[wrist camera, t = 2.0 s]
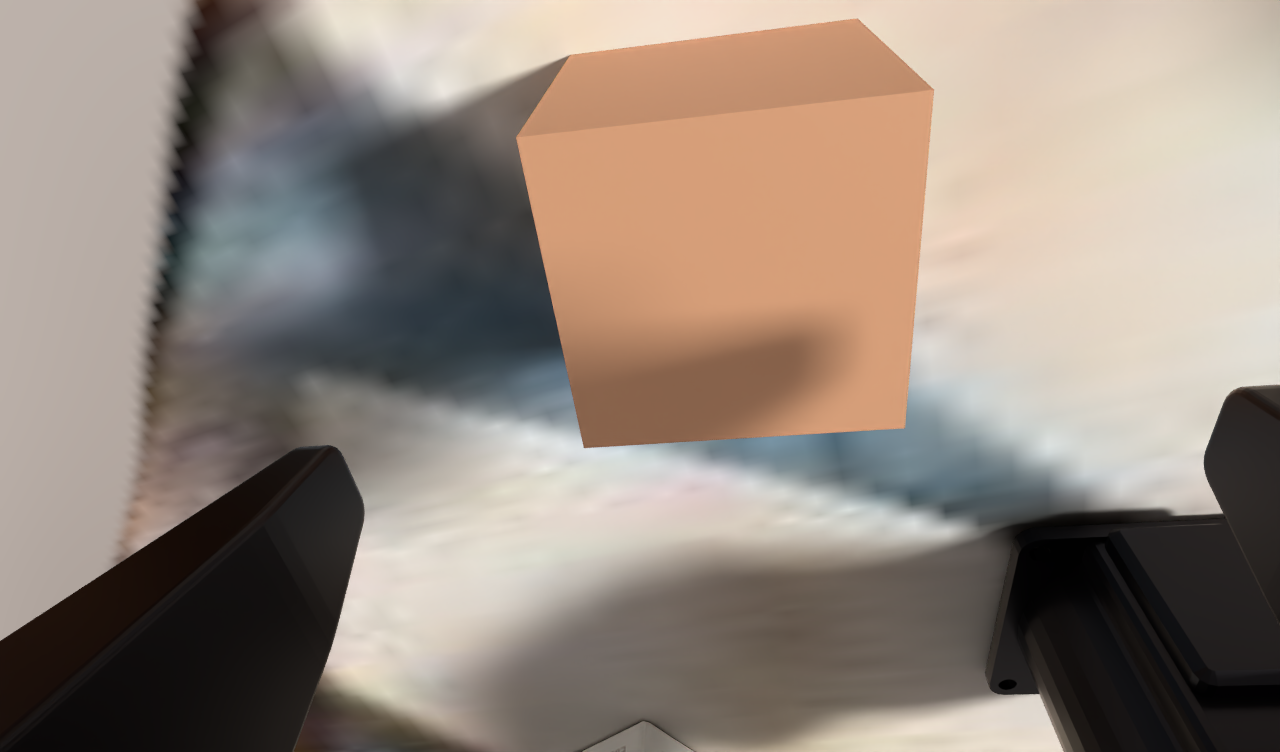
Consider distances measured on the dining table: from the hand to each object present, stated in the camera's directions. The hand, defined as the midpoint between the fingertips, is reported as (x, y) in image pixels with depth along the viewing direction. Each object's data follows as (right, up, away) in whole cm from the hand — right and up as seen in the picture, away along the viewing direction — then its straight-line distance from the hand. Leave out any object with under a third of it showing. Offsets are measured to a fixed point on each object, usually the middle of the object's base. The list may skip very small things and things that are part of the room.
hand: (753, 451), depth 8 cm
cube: (0, +5, +7) cm, 8 cm away
